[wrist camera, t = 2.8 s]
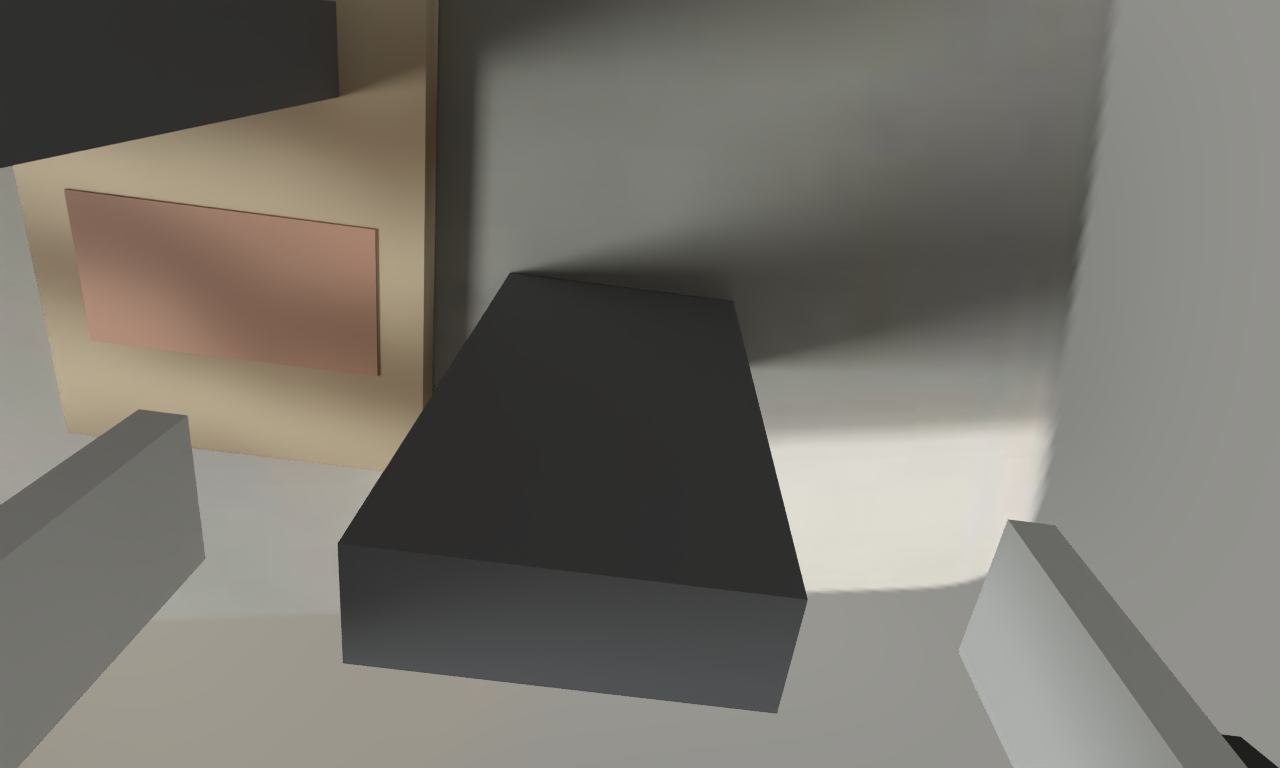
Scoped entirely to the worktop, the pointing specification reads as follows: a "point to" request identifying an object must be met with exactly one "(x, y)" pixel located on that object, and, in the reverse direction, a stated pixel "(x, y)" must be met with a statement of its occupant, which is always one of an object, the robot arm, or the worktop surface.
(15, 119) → the domino
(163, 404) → the domino board
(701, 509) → the domino
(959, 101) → the worktop surface
